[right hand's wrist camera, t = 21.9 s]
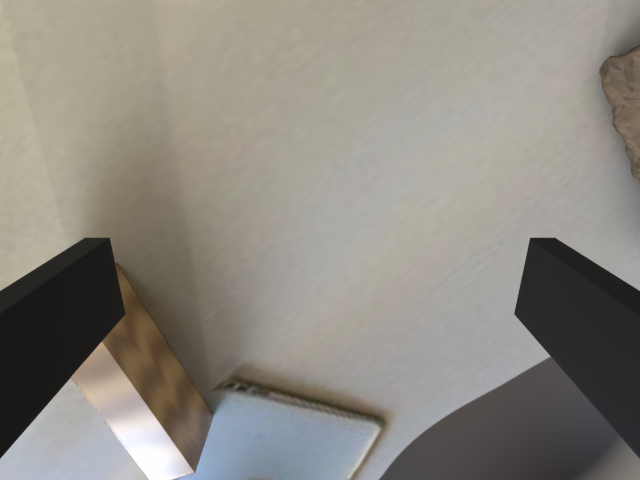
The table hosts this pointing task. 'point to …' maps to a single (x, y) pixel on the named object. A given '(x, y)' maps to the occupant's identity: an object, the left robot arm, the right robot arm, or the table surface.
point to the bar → (146, 394)
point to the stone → (625, 100)
